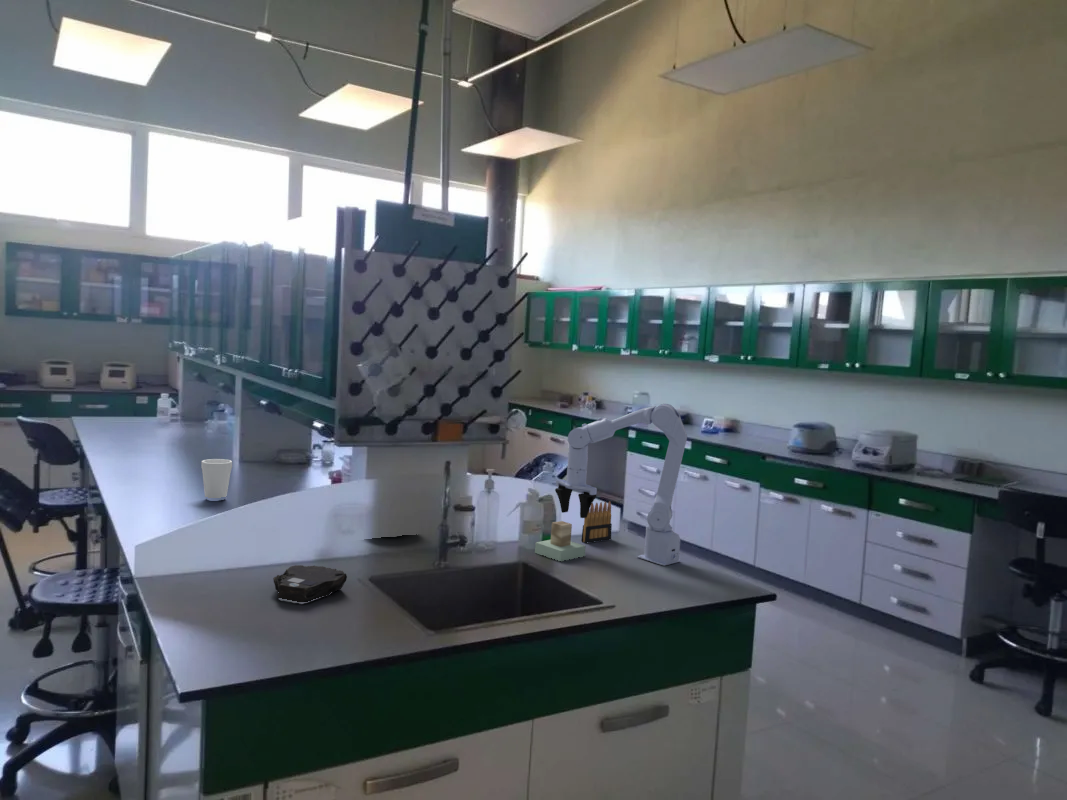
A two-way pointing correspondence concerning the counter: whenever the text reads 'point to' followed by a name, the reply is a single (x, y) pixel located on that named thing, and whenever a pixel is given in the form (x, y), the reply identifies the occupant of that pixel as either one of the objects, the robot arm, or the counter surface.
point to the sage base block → (560, 550)
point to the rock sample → (308, 582)
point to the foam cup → (216, 477)
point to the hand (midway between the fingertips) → (574, 514)
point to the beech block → (561, 533)
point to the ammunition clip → (597, 523)
